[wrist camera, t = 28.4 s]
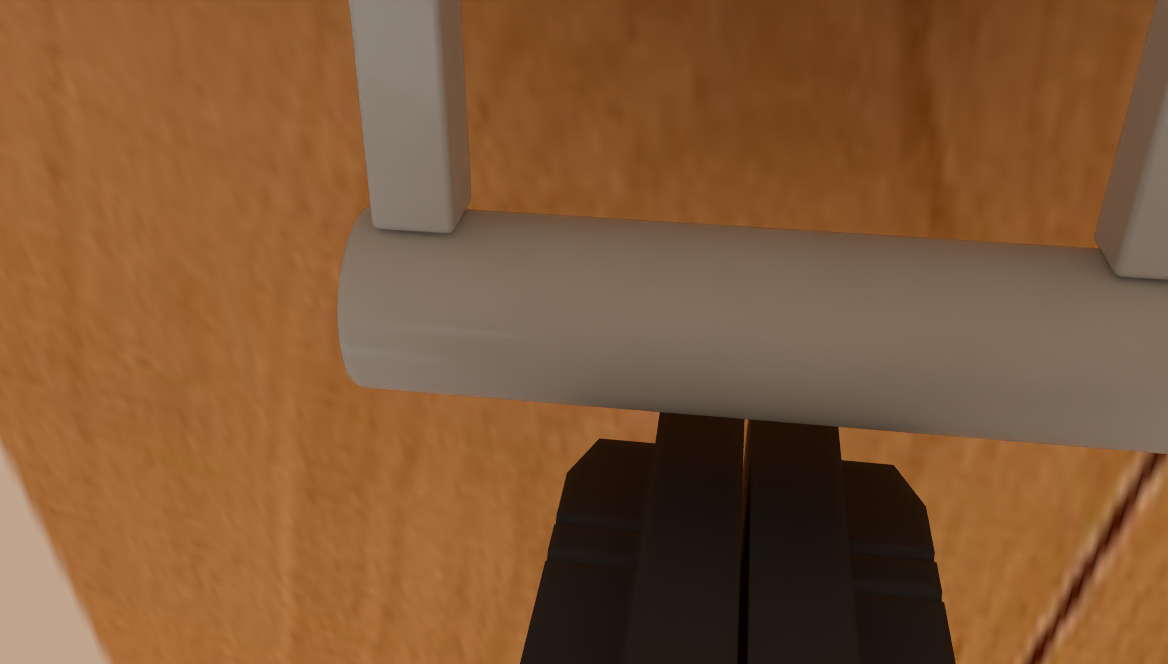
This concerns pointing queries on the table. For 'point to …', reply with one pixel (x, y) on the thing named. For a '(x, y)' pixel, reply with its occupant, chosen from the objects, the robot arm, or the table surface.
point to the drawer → (744, 289)
